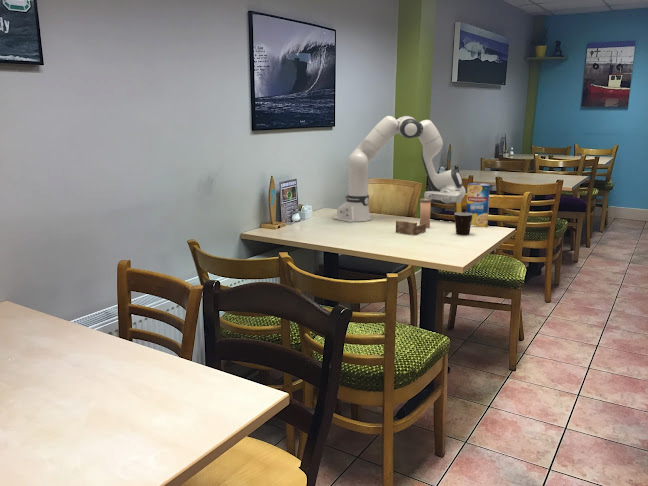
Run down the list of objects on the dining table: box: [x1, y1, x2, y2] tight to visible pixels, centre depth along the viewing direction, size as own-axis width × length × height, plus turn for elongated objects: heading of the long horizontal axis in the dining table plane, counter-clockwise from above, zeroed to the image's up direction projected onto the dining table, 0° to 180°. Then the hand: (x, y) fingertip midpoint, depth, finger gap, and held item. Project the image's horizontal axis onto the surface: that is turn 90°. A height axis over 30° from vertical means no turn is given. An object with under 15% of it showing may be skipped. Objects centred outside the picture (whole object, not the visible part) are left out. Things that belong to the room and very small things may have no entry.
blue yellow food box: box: [465, 182, 491, 228], centre depth 286 cm, size 7×11×22 cm, turn 70°
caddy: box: [395, 220, 427, 236], centre depth 274 cm, size 11×10×6 cm
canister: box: [419, 198, 432, 229], centre depth 284 cm, size 6×6×15 cm
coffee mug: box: [454, 212, 473, 236], centre depth 267 cm, size 12×9×10 cm
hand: (435, 197), depth 292 cm, fingers open, 8 cm apart
